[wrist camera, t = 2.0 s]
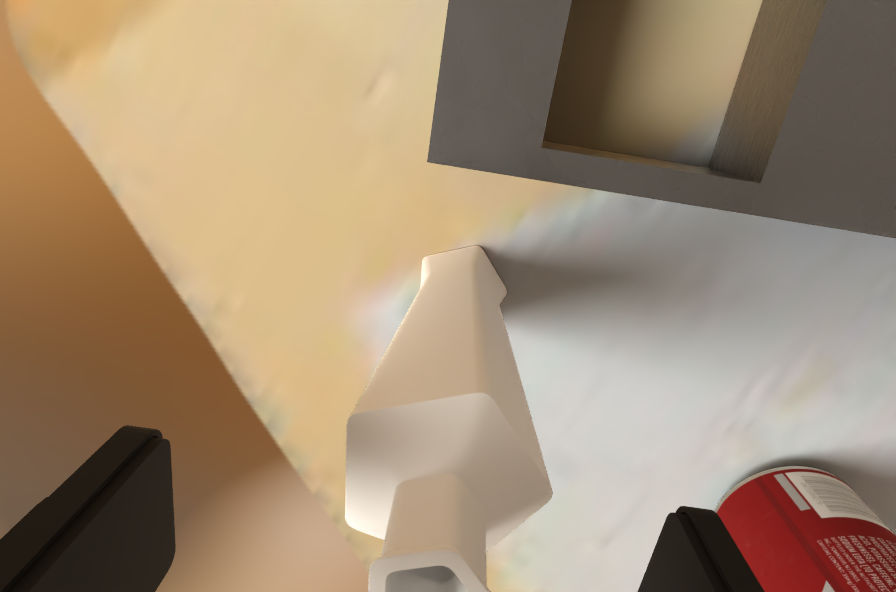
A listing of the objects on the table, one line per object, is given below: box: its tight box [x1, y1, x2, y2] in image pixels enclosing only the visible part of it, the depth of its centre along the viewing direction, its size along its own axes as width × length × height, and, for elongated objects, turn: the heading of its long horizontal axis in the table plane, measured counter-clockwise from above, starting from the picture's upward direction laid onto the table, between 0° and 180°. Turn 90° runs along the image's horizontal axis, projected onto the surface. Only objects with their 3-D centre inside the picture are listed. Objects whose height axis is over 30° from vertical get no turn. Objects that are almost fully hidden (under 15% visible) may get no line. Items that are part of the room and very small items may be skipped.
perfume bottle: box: [345, 246, 553, 592], centre depth 15 cm, size 5×4×15 cm
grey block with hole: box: [427, 0, 896, 238], centre depth 17 cm, size 22×9×4 cm, turn 81°
